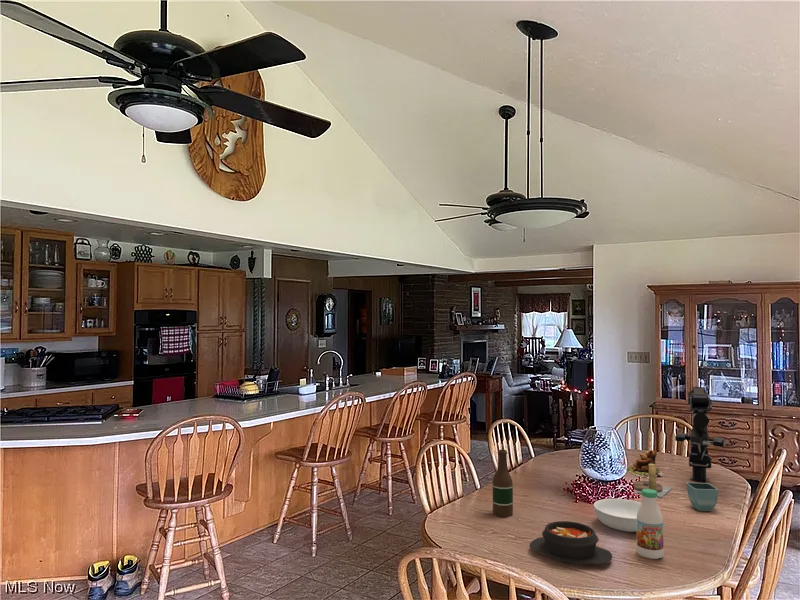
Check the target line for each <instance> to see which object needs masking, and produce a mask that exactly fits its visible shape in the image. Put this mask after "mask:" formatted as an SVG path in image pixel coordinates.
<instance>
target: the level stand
mask: <svg viewBox="0 0 800 600" xmlns="http://www.w3.org/2000/svg"><path fill="white" fill-rule="evenodd" d="M671 489H672V490H673V487H670V486H664V485H662V491H660V492H657V494H658V495H657V498H658V497H659V499H663V498H664V497H665V496H666V495H668V494H669V493H670V492H671V491H672V490H671ZM670 490H671V491H670ZM635 491H636V492H637V493H639V494H638V495H642V491H640V490H637V489H635ZM637 493H636V494H637ZM663 496H664V497H663Z"/></svg>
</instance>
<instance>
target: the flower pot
mask: <svg viewBox="0 0 800 600" xmlns="http://www.w3.org/2000/svg"><path fill="white" fill-rule="evenodd" d="M686 492H687V497H688V499H689V502H690V503H691V506H692V507H693V508H694V509H696V510H697V511H699V512H700V511H703V512H712V511H713V510H714V508H715V507H716V505H717V503H718V496H719V489H718V488H717V487H715V486H714V485H712V484H711V483H707V482H706V483H704V482H686Z"/></svg>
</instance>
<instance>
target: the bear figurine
mask: <svg viewBox="0 0 800 600" xmlns="http://www.w3.org/2000/svg"><path fill="white" fill-rule="evenodd" d="M657 453H658V450H657V449H655V450H652V449H651V450H646V452H645V453H643V454H642V453H639V458H636V461H634V462H633V464H632V466H628V467H627V468H628V471H627V472H628V473H629V474H630V473H631V474H632V475H634V476H637V477H640V478H642V477H643V478H644V477H645V478H646V479H649V464H655V465H656V457H657ZM658 476H660V477H664V473H663V472H662V470H661V469H660V468H657V467H656V478H657V477H658Z"/></svg>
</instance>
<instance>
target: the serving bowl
mask: <svg viewBox="0 0 800 600" xmlns="http://www.w3.org/2000/svg"><path fill="white" fill-rule="evenodd" d="M641 503H642V502H640V501H635V500H630V499H623V498H603V499H599V500H596V501H595V502H594V503H593V509H594V513H595V516H596V518H597V519H598V520H599V521H600V522H601V523H602V524H603V525H605V526H607V527H609V528H612V529H614V530H617V531H619V532H620V531H622V532H630V533H631V532H633V533H634V532H636V533H637V513H638V509H639V507H640V505H641Z"/></svg>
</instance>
